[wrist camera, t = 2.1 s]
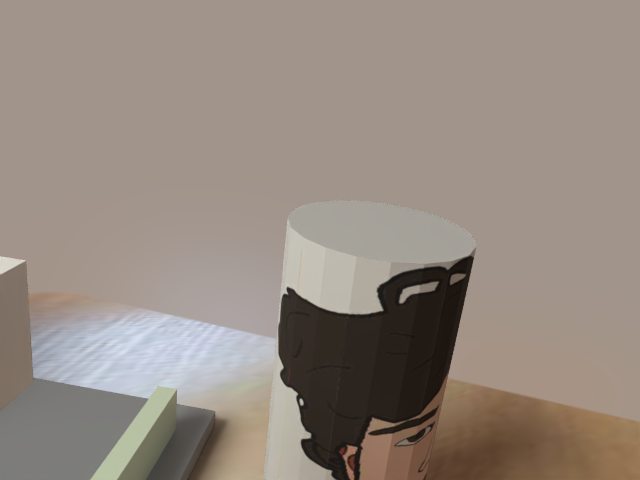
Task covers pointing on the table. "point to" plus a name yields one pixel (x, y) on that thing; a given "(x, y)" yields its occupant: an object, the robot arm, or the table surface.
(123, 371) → the table surface
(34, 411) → the holder
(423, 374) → the white printed cylinder
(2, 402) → the robot arm
